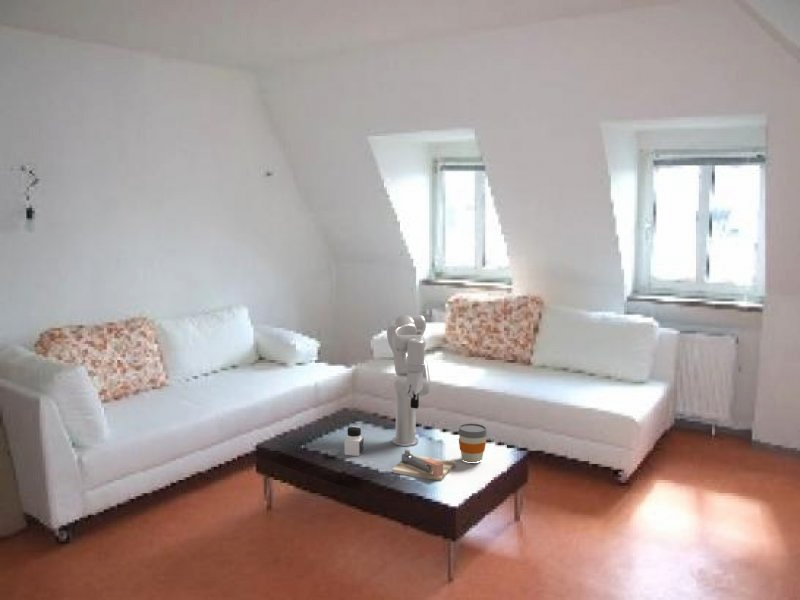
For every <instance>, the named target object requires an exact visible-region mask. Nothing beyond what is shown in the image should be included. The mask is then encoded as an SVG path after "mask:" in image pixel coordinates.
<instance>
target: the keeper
mask: <svg viewBox="0 0 800 600" xmlns="http://www.w3.org/2000/svg"><path fill="white" fill-rule="evenodd" d="M427 458H428V459H425V460H424V463H425V464H428V465H430V466H433V475H434V476H437V477H438V476H441V475H443V462H440V461H438V460H435V459H436V458H433V457H427ZM432 458H433V459H432Z"/></svg>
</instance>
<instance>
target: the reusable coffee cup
mask: <svg viewBox="0 0 800 600" xmlns="http://www.w3.org/2000/svg"><path fill="white" fill-rule="evenodd" d="M457 433H458V436H459V438H458V444H459V450H460V454H461V461H462V460H464V461H467V462H477V461H480V460H482V461H483V457H484V452H485V449H486V443H487V440H486V437H487V434H488V433H487V427H486V426H485V425H483V424H479V423H472V422H471V423H463V424H460V425H458V432H457Z"/></svg>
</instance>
